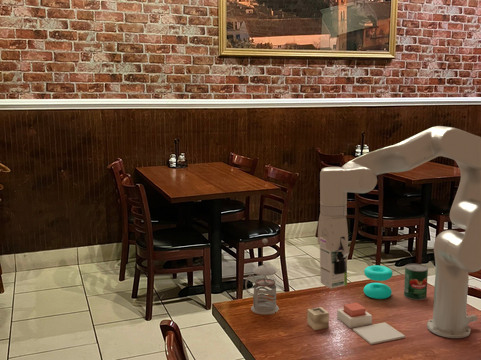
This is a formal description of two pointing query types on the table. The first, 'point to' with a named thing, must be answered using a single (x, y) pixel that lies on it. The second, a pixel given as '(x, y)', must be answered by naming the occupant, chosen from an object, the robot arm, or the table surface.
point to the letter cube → (318, 318)
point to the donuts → (378, 288)
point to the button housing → (354, 319)
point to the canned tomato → (415, 281)
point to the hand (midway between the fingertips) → (333, 269)
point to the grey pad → (378, 333)
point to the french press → (262, 303)
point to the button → (354, 309)
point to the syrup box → (330, 268)
